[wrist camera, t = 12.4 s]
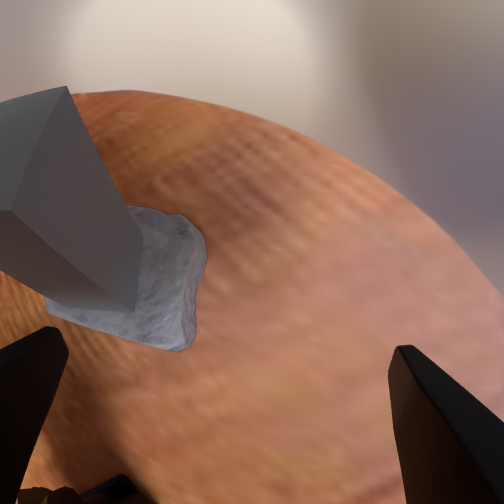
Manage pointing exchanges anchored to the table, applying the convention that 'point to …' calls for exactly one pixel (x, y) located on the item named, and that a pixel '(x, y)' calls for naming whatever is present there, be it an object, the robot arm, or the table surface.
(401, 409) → the robot arm
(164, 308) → the stone block
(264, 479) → the table surface
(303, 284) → the table surface
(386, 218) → the table surface
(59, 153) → the pillar
